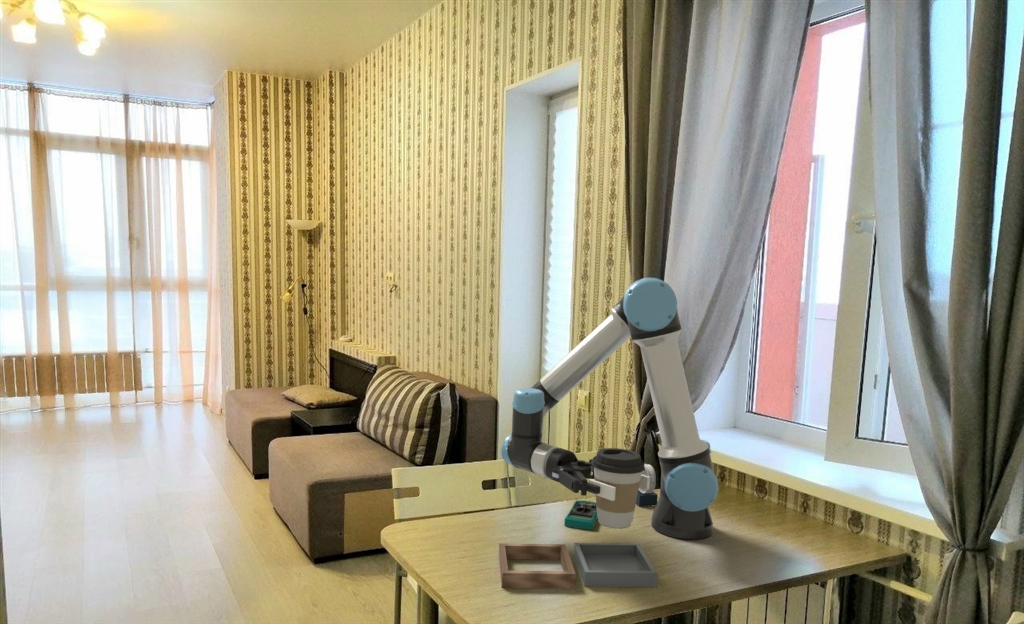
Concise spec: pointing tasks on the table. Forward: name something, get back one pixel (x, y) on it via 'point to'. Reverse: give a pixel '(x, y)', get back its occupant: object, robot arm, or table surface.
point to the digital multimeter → (582, 515)
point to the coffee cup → (618, 485)
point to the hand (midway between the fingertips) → (631, 488)
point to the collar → (536, 577)
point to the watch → (648, 495)
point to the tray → (614, 565)
